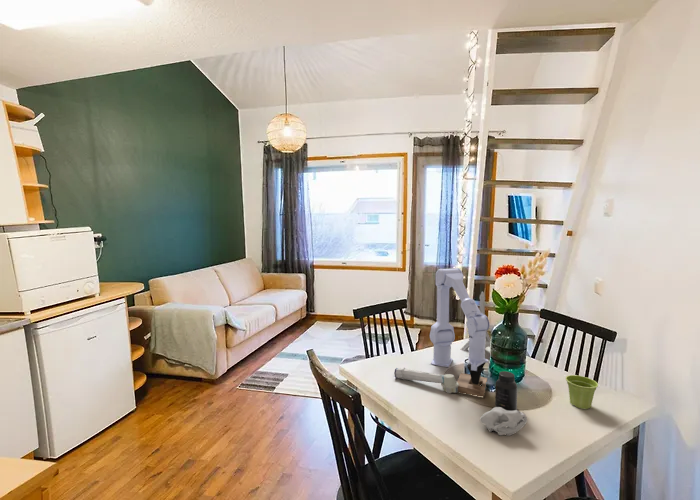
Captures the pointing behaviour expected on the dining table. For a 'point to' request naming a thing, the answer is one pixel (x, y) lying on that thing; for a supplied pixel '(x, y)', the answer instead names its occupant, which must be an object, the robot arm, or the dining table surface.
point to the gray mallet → (429, 378)
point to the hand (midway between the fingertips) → (475, 381)
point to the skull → (503, 420)
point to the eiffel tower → (487, 339)
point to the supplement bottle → (506, 391)
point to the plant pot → (581, 390)
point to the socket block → (467, 386)
